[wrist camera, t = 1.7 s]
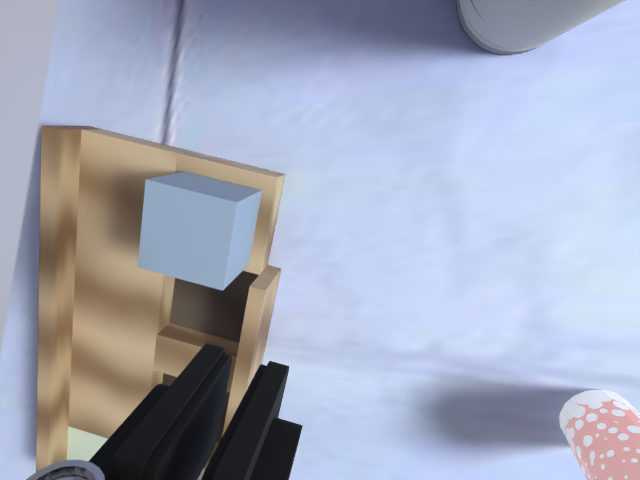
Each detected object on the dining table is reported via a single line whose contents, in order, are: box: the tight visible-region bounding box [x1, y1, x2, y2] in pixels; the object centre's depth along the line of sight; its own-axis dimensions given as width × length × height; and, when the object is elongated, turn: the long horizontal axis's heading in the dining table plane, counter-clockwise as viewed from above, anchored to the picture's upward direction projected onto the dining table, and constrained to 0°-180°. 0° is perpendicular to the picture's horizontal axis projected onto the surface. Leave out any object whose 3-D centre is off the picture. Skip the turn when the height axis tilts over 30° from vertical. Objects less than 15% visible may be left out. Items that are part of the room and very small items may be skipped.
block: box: [138, 171, 262, 291], centre depth 24 cm, size 5×5×4 cm
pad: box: [67, 426, 205, 480], centre depth 33 cm, size 4×13×2 cm, turn 77°
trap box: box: [36, 126, 285, 472], centre depth 29 cm, size 29×15×4 cm, turn 167°
